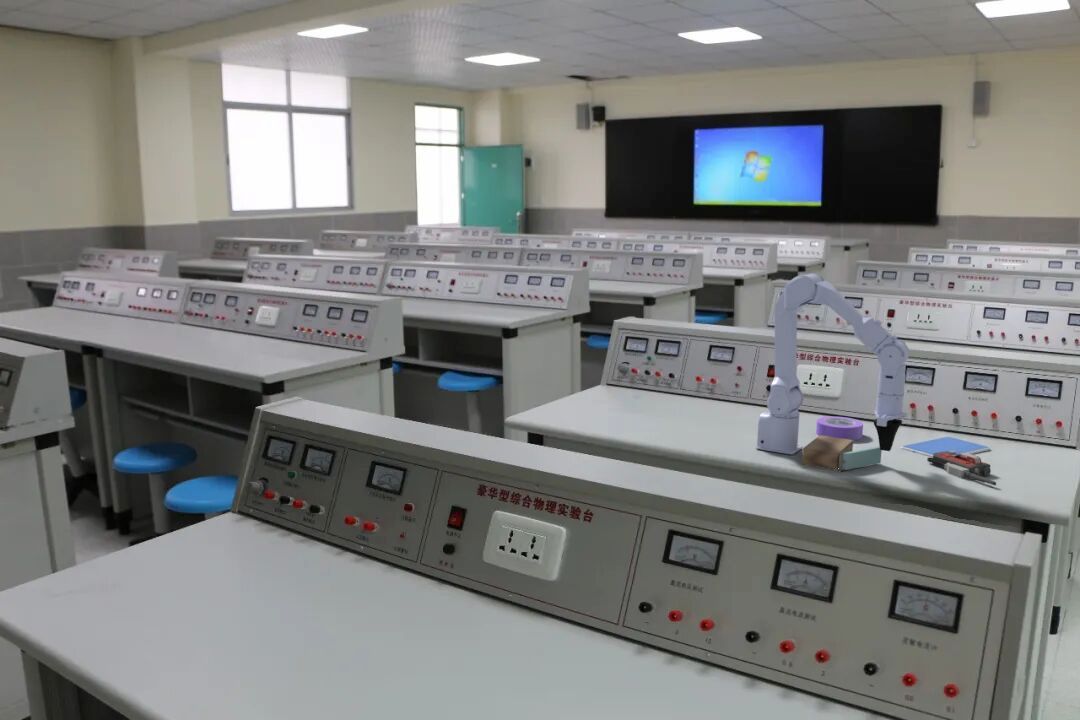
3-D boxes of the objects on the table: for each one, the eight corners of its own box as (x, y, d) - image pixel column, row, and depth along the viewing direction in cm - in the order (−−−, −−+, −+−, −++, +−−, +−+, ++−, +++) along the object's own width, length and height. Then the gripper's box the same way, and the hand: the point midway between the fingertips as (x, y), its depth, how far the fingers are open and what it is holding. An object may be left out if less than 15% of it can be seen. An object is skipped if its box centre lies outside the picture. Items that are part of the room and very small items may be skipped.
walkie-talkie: (919, 465, 208) (991, 490, 190) (920, 447, 207) (993, 471, 189) (946, 461, 212) (1020, 485, 193) (948, 443, 211) (1022, 466, 193)
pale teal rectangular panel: (843, 470, 201) (844, 454, 201) (839, 469, 202) (840, 453, 201) (880, 462, 207) (881, 447, 207) (877, 461, 208) (878, 446, 208)
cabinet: (801, 465, 206) (802, 447, 205) (818, 450, 218) (820, 433, 218) (841, 472, 201) (842, 453, 200) (857, 456, 213) (858, 439, 213)
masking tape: (853, 443, 226) (854, 429, 225) (809, 436, 233) (810, 422, 232) (867, 434, 235) (869, 420, 235) (824, 427, 242) (825, 414, 241)
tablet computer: (942, 463, 211) (943, 457, 211) (898, 450, 222) (898, 445, 221) (991, 452, 221) (992, 447, 220) (946, 440, 231) (947, 435, 231)
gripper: (902, 401, 195) (897, 460, 197) (914, 390, 207) (909, 445, 209) (869, 397, 198) (864, 454, 201) (883, 386, 210) (878, 441, 213)
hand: (885, 450), depth 205 cm, fingers closed
